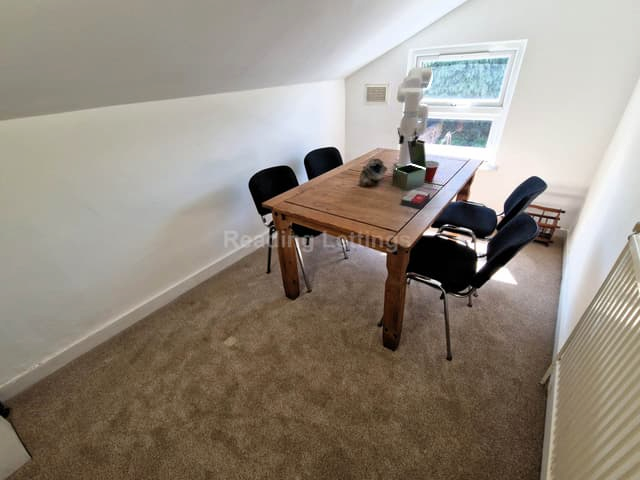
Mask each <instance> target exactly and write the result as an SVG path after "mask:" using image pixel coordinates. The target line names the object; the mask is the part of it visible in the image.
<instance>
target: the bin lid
mask: <svg viewBox="0 0 640 480" xmlns="http://www.w3.org/2000/svg"><path fill="white" fill-rule="evenodd" d="M411 142H412V141H410V140H408V148H409V155H410V162H411V164H413V165H416V166H419V167H422V168H427V166H426V161H427V158H426V147H425V143H426V141H425V140H421V139H417V140H416V146H415V147H411Z"/></svg>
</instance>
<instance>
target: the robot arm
mask: <svg viewBox="0 0 640 480" xmlns="http://www.w3.org/2000/svg"><path fill="white" fill-rule="evenodd" d="M433 75H434V73H433V69H432V67H430V66H420V67H419V66H418V67H413V68H411V69H409V71H408V73H407V75H406V76H405V77H404V78H403V80H402V82H401V83H400V84H399V86H398V89H397V93H396V99H397V101H398V103H401V104H404V107H403V112H402V113H403V116H402V118H401V119H400V124H399V127H397V129H396V130H397V135H398V138H399V139H398V144H399V154H398V156H397V157H396V158H395V161H396V163H395V166H396V167H397V168H398V167H402V166H405V165H409V164H411V162H410V155H409V148H408V140H410V141H412V142H411V147H415V146H416V141H417V140H419V138H420V136H421V137H422V136H425V134H426V132H427V127H428V126H427V125H428V119H429V118H428V117H429V106H428V105H427V104H425V103H420V102H421V101H422V100H423V98H424V90H428V89H430V87H431V86H432V85H431V84H432V81H433V77H434V76H433Z"/></svg>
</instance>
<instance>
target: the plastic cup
mask: <svg viewBox="0 0 640 480" xmlns="http://www.w3.org/2000/svg"><path fill="white" fill-rule="evenodd" d="M426 166H427V168H425V169H426V172H425V179H424V183H432V182H433V181H434V178H435V176H436V173H437V170H438V168H439V167H440V162H438V161H436V160H426Z"/></svg>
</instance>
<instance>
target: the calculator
mask: <svg viewBox="0 0 640 480" xmlns="http://www.w3.org/2000/svg"><path fill="white" fill-rule="evenodd" d="M430 196H431V193H430V192H427V191H421V190H415V189H410V191H409V192H408V193H407V194H406V195H405V196H404V197H403V198H402V199H401V200H400V205H401V206H406V207H411V208H414V209H419V210H420V209H421V208H422V207H423V206H424V205H425V204H426V203H427V202H428V201H429V200H430Z"/></svg>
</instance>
